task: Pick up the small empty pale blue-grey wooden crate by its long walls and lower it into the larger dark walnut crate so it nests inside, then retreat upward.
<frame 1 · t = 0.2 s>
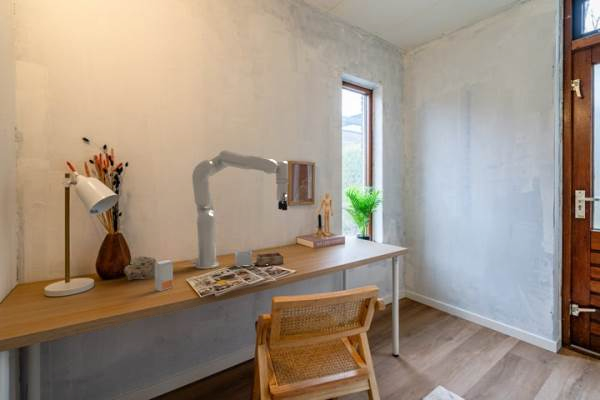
hand: (282, 209, 167), 31 cm above the table, fingers open, 9 cm apart
skincare box: (164, 289, 120), on the table
crate small: (243, 265, 157), on the table
rock: (141, 275, 140), on the table
crate large: (269, 262, 161), on the table
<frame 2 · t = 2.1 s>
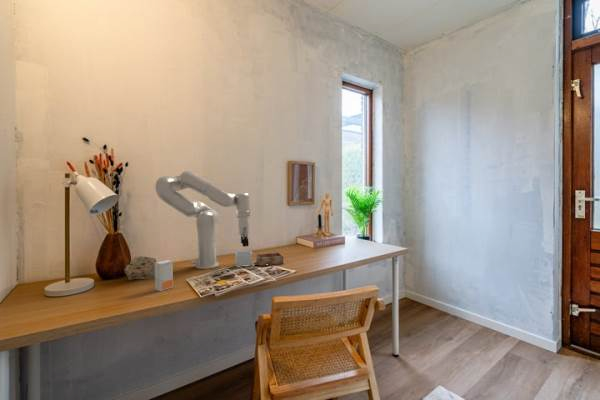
hand: (244, 244, 156), 12 cm above the table, fingers open, 9 cm apart
nothing on the table moved.
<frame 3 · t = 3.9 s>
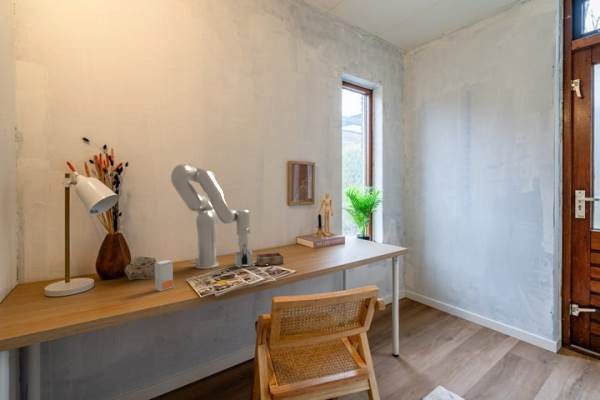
hand: (243, 262, 157), 2 cm above the table, fingers closed on crate small, 6 cm apart
crate small: (244, 265, 157), on the table, touching gripper
everything else where it was.
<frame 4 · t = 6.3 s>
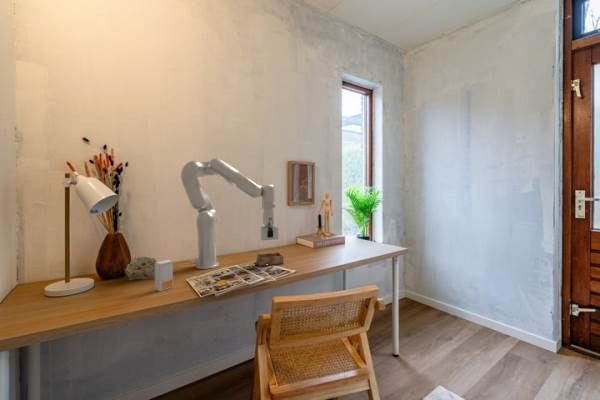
hand: (269, 236, 160), 16 cm above the table, fingers closed on crate small, 6 cm apart
crate small: (269, 238, 161), point 14 cm above the table, touching gripper
everything else where it was.
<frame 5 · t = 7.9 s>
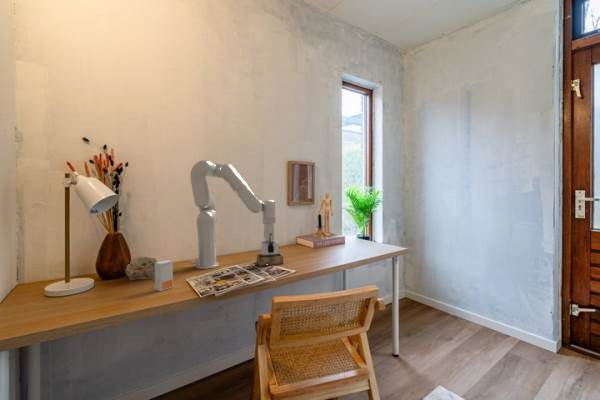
hand: (269, 251, 161), 7 cm above the table, fingers closed on crate small, 6 cm apart
crate small: (269, 253, 161), point 5 cm above the table, touching gripper
when the fingers open (7 cm above the table, at t = 8.9 s): crate small drops 4 cm, resting on crate large.
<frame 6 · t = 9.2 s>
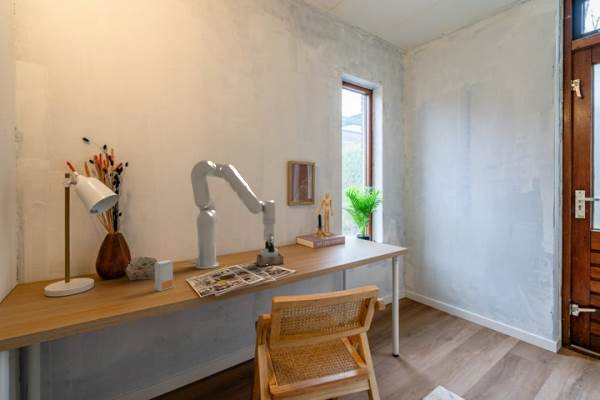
hand: (269, 250, 161), 7 cm above the table, fingers open, 9 cm apart
crate small: (269, 261, 161), resting on crate large
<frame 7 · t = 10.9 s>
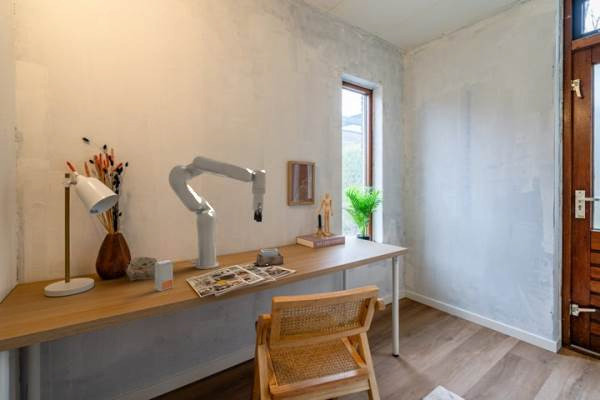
hand: (257, 220, 159), 25 cm above the table, fingers open, 9 cm apart
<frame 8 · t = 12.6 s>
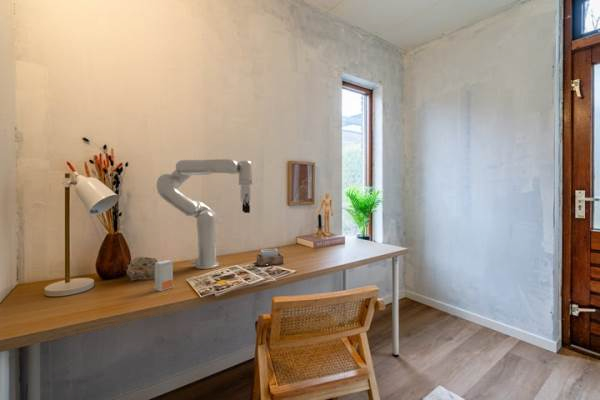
hand: (246, 212, 158), 30 cm above the table, fingers open, 9 cm apart
at the end: crate small 0.1 cm off-centre on the crate large, point 0.5 cm above the crate large's base; crate small tilted 0°; the gripper is holding nothing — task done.
